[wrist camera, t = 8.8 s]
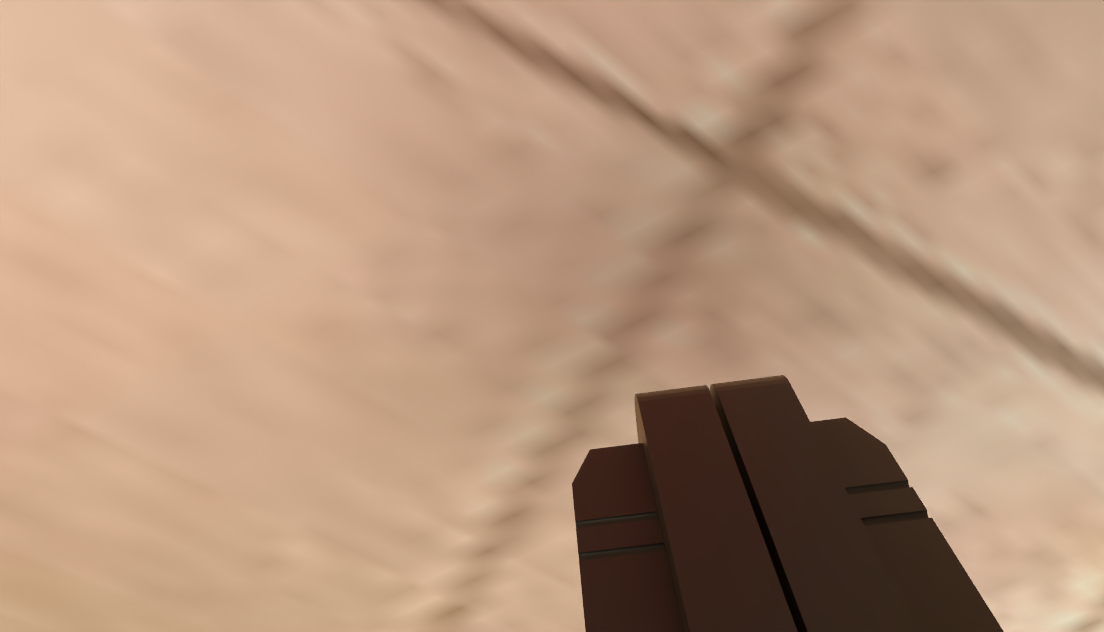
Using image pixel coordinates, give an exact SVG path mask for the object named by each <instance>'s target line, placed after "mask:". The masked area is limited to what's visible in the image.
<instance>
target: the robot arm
mask: <svg viewBox="0 0 1104 632" xmlns="http://www.w3.org/2000/svg"><path fill="white" fill-rule="evenodd" d="M635 411H636V422H637V432H638V442H639V444H631V445H623V446H615V447H607V448H599V449H591V450H590V451H589V453H588V455H587V456H586V458H585V460H584V462H583V464H582V466H581V468H580V470H579V472H578V473H577V475H576V477H575V479H574V481H573V483H572V489H573V499H574V510H575V521H576V532H577V542H578V553H579V564H580V575H581V585H582V596H583V607H584V618H585V628H586V632H1003V630H1002V628H1001V627H1000V625H999V624H998V622H997V620H996V619H995V617H994V616H993V614H992V612H991V611H990V609H989V608H988V606H987V605H986V603H985V601H984V600H983V598H982V597H981V595H980V593H979V592H978V590H977V589H976V587H975V586H974V584H973V582H972V581H971V579H970V578H969V576H968V574H967V573H966V571H965V570H964V568H963V566H962V565H961V563H960V562H959V560H958V559H957V557H956V555H955V554H954V552H953V551H952V549H951V547H950V546H949V544H948V543H947V541H946V540H945V538H944V536H943V535H942V533H941V532H940V530H939V528H938V527H937V525H936V524H935V522H934V521H933V519H932V518H928V515H927V509H926V508H925V506H924V505H923V503H922V501H921V500H920V498H919V497H918V495H917V494H916V492H915V490H914V489H913V487H910V488H909V485H908V479H907V478H906V476H905V475H904V473H903V471H902V470H901V468H900V467H899V465H898V463H897V462H896V460H895V459H894V457H893V455H892V454H891V452H890V451H889V449H888V448H887V446H886V445H885V444H884V443H882V442H881V441H879V440H878V439H877V438H875V437H874V436H872V435H871V434H869V433H868V432H866V431H865V430H863V429H862V428H860V427H859V426H857V425H856V424H854V423H853V422H851V421H850V420H848V419H847V418H839V419H831V420H823V421H814V422H810V421H809V419H808V417H807V415H806V413H805V411H804V409H803V407H802V405H801V404H800V402H799V400H798V398H797V396H796V394H795V392H794V390H793V388H792V386H791V384H790V383H789V381H788V379H787V378H786V377H785V376H783V375H781V376H773V377H765V378H757V379H749V380H742V381H734V382H726V383H718V384H712V385H711V386H710V391H709V388H708V387H707V386H706V385H704V386H696V387H688V388H680V389H672V390H664V391H656V392H648V393H640V394H635Z"/></svg>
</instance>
